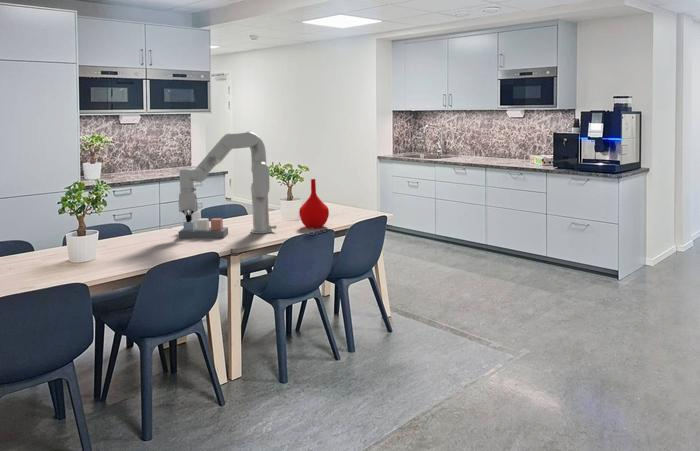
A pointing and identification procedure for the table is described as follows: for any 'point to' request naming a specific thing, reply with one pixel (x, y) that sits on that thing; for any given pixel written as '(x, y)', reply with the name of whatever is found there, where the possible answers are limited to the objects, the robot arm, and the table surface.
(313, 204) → the vase
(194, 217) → the mug
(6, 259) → the table surface
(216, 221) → the key brick
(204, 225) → the key ivory
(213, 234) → the console
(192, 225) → the key blue
